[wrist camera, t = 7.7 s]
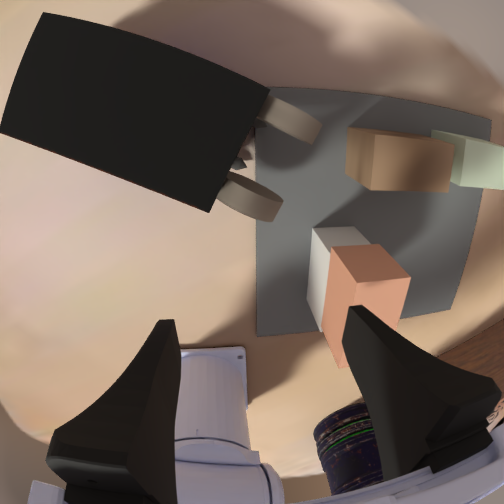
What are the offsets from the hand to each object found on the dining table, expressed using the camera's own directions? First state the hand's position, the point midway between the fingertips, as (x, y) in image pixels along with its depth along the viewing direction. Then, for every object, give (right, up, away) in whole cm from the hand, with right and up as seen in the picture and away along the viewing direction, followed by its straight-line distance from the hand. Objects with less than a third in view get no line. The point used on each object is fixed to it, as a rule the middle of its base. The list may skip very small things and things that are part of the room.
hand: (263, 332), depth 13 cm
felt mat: (+10, +5, +10) cm, 15 cm away
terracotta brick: (+6, +1, +7) cm, 9 cm away
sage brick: (+16, +11, +8) cm, 21 cm away
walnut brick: (+9, +10, +7) cm, 15 cm away
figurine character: (-5, +12, +5) cm, 14 cm away
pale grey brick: (+5, +2, +11) cm, 12 cm away
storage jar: (+12, -19, +23) cm, 32 cm away
